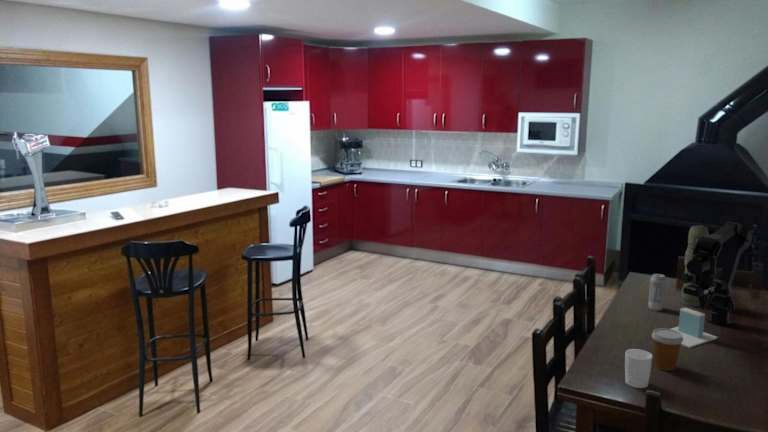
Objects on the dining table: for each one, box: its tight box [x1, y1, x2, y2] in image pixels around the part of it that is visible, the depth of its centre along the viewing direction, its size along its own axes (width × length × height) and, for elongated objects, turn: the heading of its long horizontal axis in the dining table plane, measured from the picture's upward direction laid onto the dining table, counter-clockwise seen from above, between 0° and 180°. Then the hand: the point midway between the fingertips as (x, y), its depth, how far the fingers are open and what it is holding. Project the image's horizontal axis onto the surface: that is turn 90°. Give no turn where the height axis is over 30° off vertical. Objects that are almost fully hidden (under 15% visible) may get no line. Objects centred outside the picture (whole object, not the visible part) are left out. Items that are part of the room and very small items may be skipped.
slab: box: [678, 307, 706, 338], centre depth 219 cm, size 3×8×9 cm, turn 29°
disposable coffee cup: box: [651, 327, 683, 372], centre depth 193 cm, size 10×10×12 cm
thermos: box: [680, 224, 710, 308], centre depth 250 cm, size 9×12×35 cm
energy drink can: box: [647, 273, 667, 312], centre depth 246 cm, size 6×6×15 cm
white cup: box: [624, 348, 654, 389], centre depth 182 cm, size 8×8×10 cm
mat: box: [670, 325, 719, 349], centre depth 218 cm, size 17×14×1 cm
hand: (703, 308), depth 221 cm, fingers closed
